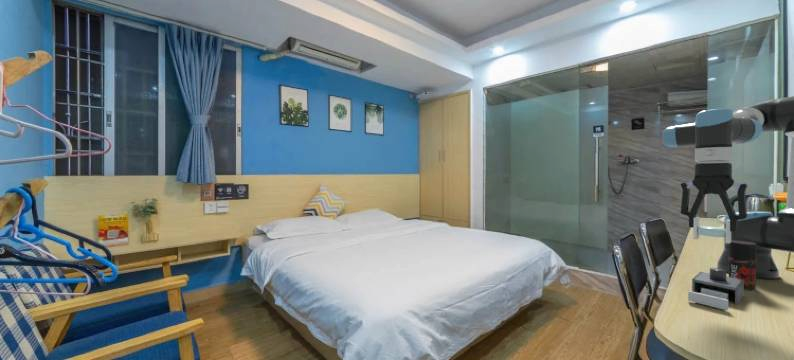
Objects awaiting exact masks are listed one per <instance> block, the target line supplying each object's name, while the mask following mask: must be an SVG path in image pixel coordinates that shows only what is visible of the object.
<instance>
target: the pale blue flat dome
mask: <svg viewBox="0 0 794 360" xmlns="http://www.w3.org/2000/svg"><path fill="white" fill-rule="evenodd" d="M698 234H699V236H706V237H711V238H712V237H713V238H724V237H726V229H724V227H718V226H707V225H705V226H703V225H702V226H701V225H699V227H698Z"/></svg>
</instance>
